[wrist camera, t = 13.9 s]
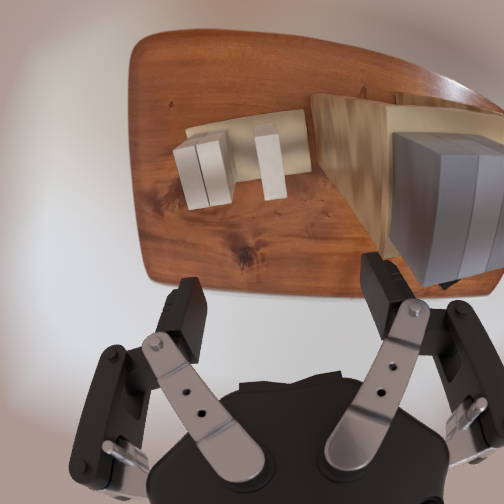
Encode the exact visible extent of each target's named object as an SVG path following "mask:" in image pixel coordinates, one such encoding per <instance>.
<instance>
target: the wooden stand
mask: <svg viewBox="0 0 504 504" xmlns="http://www.w3.org/2000/svg"><path fill="white" fill-rule="evenodd" d="M395 96H396V105H394V104H389V103H384V102H378V101H373V100H366V99H360V98H353V97H346V96H338V95H329V94H318V93H316V94H309V98H310V105H311V113H312V120H313V128H314V136H315V145H316V155H317V163H318V165H319V166H320V167H321V169H322V170H323V171H324V173H325V174H326V175H327V176H328V178H329V179H330V180H331V182H332V183H333V185H334V186H335V187H336V189H337V190H338V191H339V193H340V194H341V196H342V197H343V198H344V200H345V201H346V203H347V204H348V205H349V207H350V208H351V210H352V211H353V213H354V214H355V216H356V217H357V218H358V220H359V221H360V223H361V224H362V226H363V227H364V229H365V230H366V232H367V233H368V235H369V237H370V238H371V240H372V241H373V243H374V244H375V246H376V247H377V249H378V251H379V252H380V253H381V255H382V257H383V258H391V257H397V256H402V257H403V259H404V260H405V262H406V263H407V265H408V266H409V268H410V269H411V270H412V272H413V273H414V275H415V277H416V278H417V280H418V281H419V283H420V284H421V286H422V287H427V286H431V285H436V284H440V283H445V282H449V281H453V280H456V279H461V278H465V277H469V276H473V275H477V274H481V273H484V272H488V271H492V270H495V269H499V268H503V267H504V114H502V113H499V112H496V111H492V110H489V109H485V108H482V107H478V106H474V105H470V104H466V103H461V102H457V101H452V100H447V99H442V98H436V97H431V96H425V95H418V94H411V93H403V92H395Z"/></svg>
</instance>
